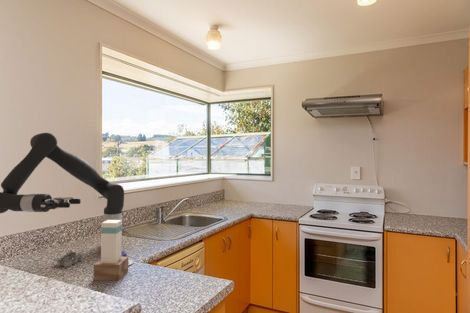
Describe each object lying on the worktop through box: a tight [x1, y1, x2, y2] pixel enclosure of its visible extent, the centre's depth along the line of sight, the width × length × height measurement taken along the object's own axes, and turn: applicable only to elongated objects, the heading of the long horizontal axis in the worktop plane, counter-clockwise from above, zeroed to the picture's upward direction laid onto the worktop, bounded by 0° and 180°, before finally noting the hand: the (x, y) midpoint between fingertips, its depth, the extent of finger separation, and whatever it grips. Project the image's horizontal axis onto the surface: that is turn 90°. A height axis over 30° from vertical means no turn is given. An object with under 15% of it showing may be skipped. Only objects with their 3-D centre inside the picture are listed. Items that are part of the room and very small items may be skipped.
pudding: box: [121, 251, 134, 266], centre depth 140 cm, size 12×12×5 cm
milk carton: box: [100, 219, 123, 263], centre depth 127 cm, size 6×6×16 cm
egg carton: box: [55, 250, 85, 268], centre depth 141 cm, size 11×8×4 cm
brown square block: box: [93, 256, 129, 281], centre depth 127 cm, size 10×10×6 cm
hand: (74, 203), depth 130 cm, fingers open, 8 cm apart
